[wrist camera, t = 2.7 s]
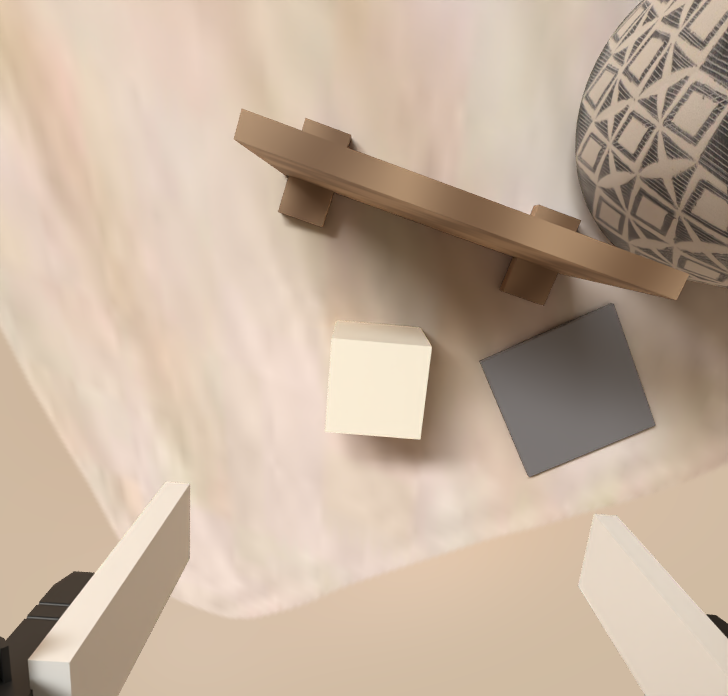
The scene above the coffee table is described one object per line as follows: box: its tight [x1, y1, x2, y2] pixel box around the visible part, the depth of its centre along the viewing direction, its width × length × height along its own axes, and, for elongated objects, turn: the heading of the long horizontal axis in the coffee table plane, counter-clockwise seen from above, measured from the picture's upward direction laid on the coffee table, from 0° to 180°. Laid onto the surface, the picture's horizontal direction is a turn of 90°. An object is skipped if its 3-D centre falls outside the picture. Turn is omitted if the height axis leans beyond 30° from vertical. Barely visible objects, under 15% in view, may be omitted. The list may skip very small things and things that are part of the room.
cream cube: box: [325, 320, 432, 439], centre depth 33 cm, size 6×6×6 cm
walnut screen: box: [234, 109, 689, 306], centre depth 27 cm, size 20×6×13 cm, turn 71°
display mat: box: [480, 304, 655, 477], centre depth 36 cm, size 10×10×1 cm
